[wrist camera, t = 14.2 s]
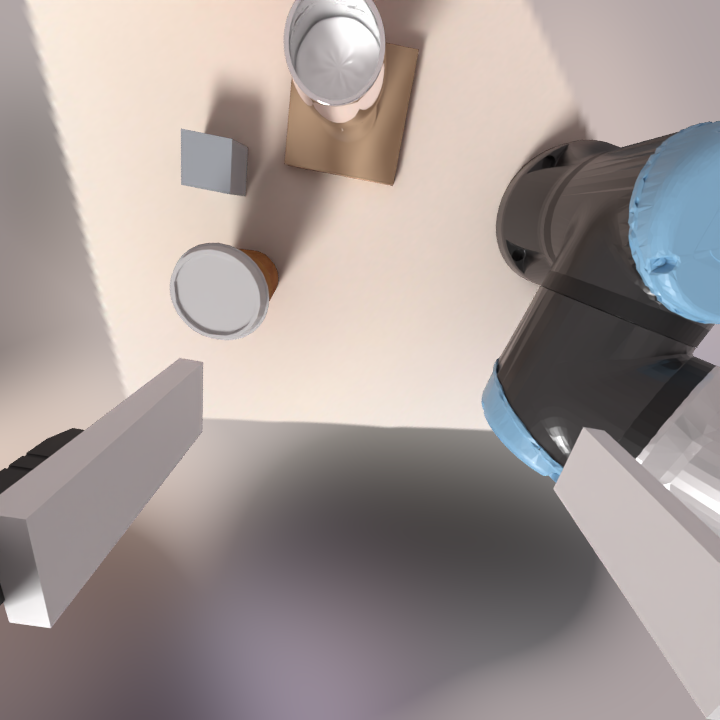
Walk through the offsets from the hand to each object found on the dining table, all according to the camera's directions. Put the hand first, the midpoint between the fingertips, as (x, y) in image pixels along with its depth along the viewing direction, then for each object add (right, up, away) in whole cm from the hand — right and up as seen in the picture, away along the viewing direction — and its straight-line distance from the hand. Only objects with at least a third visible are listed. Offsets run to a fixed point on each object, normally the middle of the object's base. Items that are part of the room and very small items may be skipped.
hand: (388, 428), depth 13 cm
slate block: (-16, +24, +28) cm, 41 cm away
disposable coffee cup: (-14, +13, +33) cm, 38 cm away
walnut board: (-2, +29, +26) cm, 39 cm away
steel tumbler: (-2, +28, +25) cm, 38 cm away
